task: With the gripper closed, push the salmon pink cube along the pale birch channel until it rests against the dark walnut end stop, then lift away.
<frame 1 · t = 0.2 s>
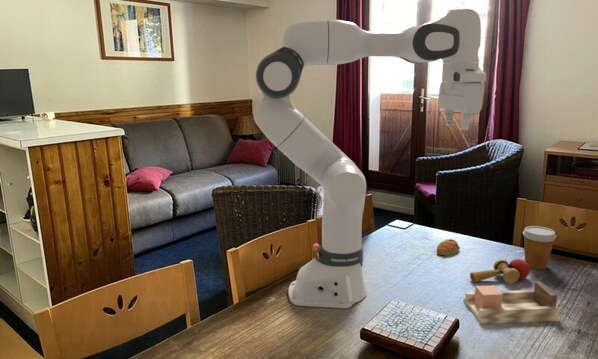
hand: (456, 127, 122), 47 cm above the table, tool pointing down, fingers open, 8 cm apart
pastry: (447, 252, 161), on the table
salmon pink cube: (488, 298, 120), point 4 cm above the table, slide at 0.0 cm
disposable coffee cup: (535, 266, 148), on the table
kendama: (499, 280, 139), on the table
channel: (509, 310, 121), on the table
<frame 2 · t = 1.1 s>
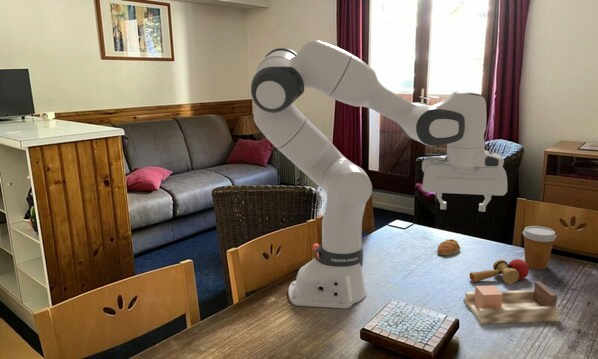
hand: (462, 209, 118), 27 cm above the table, tool pointing down, fingers open, 8 cm apart
nothing on the table moved.
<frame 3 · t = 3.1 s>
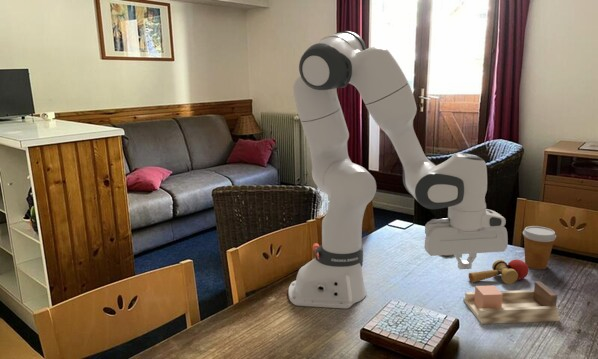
hand: (464, 268, 118), 12 cm above the table, tool pointing down, fingers closed
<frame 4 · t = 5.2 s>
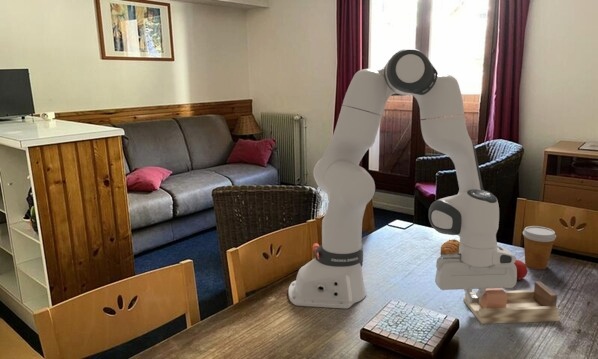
hand: (473, 302, 120), 3 cm above the table, tool pointing down, fingers closed
salmon pink cube: (492, 298, 120), point 4 cm above the table, slide at 1.2 cm, touching gripper
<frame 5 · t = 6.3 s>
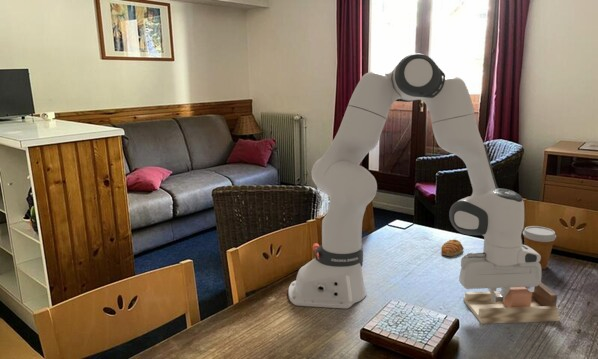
hand: (497, 301, 120), 3 cm above the table, tool pointing down, fingers closed
salmon pink cube: (516, 297, 120), point 4 cm above the table, slide at 7.6 cm, touching gripper
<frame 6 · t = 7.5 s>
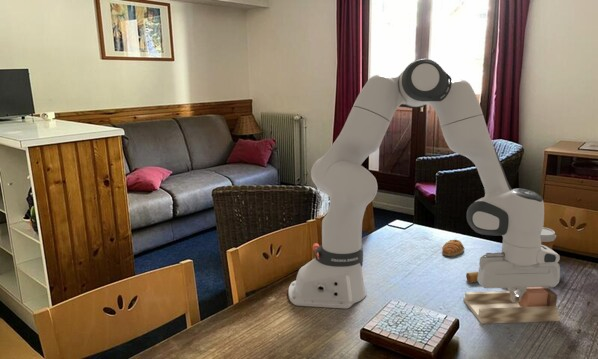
hand: (515, 301, 121), 3 cm above the table, tool pointing down, fingers closed
salmon pink cube: (532, 297, 120), point 4 cm above the table, slide at 11.9 cm, touching channel, gripper
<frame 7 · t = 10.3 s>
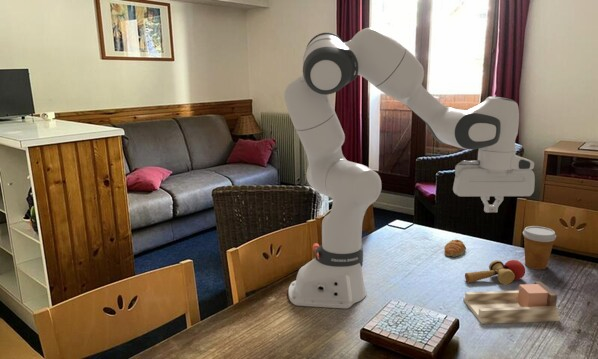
hand: (490, 211, 121), 25 cm above the table, tool pointing down, fingers closed
salmon pink cube: (532, 297, 120), point 4 cm above the table, slide at 11.9 cm, touching channel
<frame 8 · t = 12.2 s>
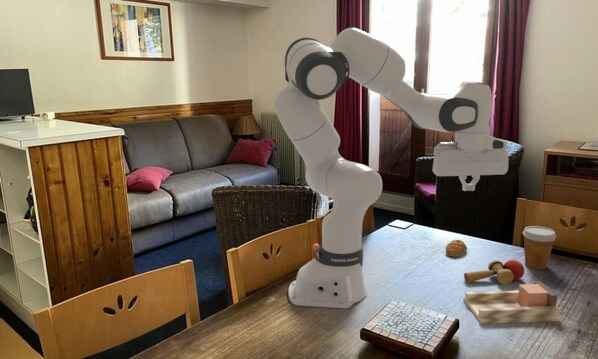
hand: (468, 190, 129), 29 cm above the table, tool pointing down, fingers closed
at the end: salmon pink cube slide at 11.9 cm; the gripper is holding nothing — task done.
